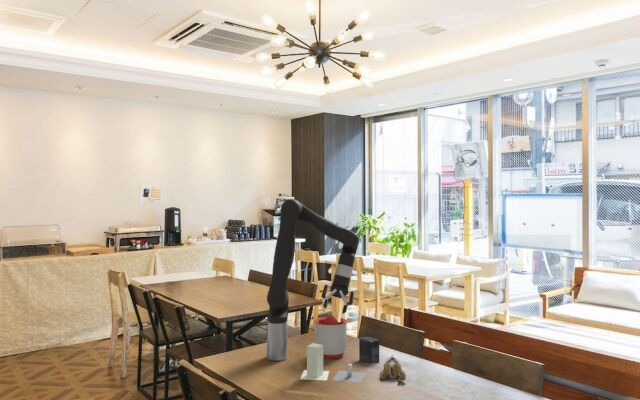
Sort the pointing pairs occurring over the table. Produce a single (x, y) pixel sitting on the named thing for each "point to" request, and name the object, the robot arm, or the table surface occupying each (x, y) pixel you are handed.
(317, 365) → the pale green pillar
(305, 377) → the mat
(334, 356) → the citrus juicer
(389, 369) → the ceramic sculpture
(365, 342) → the box
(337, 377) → the post stand
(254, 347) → the table surface
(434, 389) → the table surface
